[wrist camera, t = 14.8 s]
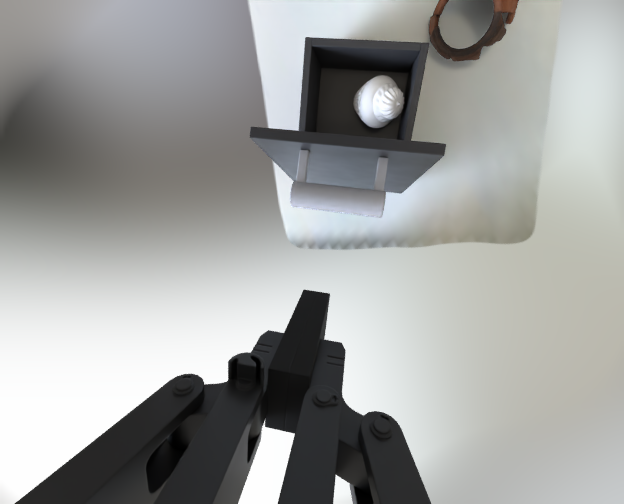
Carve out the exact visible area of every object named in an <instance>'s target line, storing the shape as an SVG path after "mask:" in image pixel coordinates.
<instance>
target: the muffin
mask: <svg viewBox="0 0 624 504" xmlns="http://www.w3.org/2000/svg"><path fill="white" fill-rule="evenodd" d="M353 102H354V103H353V104H354V109H355V111H356V113H357V114H358V115H359V117H360V118H361V120H362V121H363V122H364V123H366V124H367V125H368V126H369V127H372V128H381V127H384V126H386V125H387V124H389V123H390V122H391V121H392V119H393V118H396V117H397V116H398V115H399V114H400V113H401V111H402V109H403V104H404V103H405V102H404V97H403V92H401V90H400V89H398V86H397V85H396V83H395V82H394V80H393V79H392V78H390V77H388V76H384V75H381V76H377V77H374V78H373V79H371V80H370V81H367V82H366V83H365V84H364V85H363V86H362V87H361V88H360V89H359V90H358V91H357V93H356V95H355V98H354V101H353Z"/></svg>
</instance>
